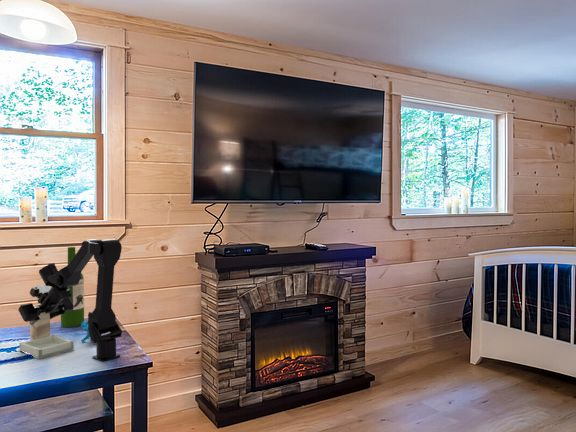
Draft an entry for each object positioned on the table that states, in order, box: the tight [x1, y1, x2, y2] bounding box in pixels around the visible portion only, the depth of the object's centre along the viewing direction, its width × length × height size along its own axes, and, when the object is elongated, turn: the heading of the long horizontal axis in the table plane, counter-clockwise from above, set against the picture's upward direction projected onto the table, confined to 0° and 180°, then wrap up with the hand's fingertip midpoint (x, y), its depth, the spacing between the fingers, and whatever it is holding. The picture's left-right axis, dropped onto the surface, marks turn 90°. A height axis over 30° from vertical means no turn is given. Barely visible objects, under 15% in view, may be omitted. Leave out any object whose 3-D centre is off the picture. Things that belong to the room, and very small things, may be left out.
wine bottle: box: [60, 246, 85, 328], centre depth 197 cm, size 9×9×32 cm
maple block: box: [29, 303, 52, 341], centre depth 176 cm, size 5×5×13 cm
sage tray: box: [19, 334, 74, 360], centre depth 164 cm, size 13×12×3 cm
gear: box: [80, 321, 90, 343], centre depth 175 cm, size 11×6×10 cm
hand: (38, 321), depth 177 cm, fingers closed on maple block, 5 cm apart
